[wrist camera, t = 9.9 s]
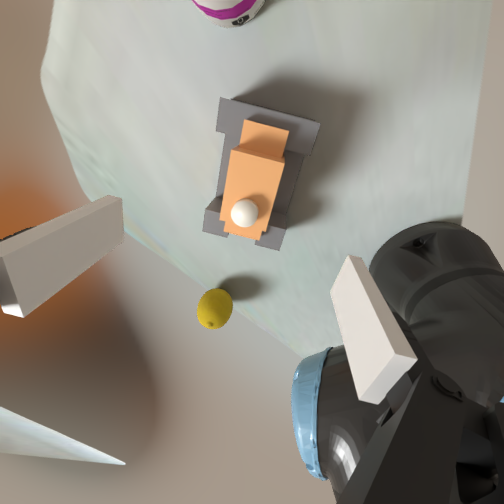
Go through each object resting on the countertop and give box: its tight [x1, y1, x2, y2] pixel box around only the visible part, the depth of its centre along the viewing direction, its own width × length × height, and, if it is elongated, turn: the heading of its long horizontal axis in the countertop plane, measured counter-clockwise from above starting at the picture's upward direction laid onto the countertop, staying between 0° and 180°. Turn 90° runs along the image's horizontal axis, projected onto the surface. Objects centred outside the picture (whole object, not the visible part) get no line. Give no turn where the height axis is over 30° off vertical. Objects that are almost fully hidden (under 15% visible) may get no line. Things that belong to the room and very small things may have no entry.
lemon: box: [197, 288, 233, 329], centre depth 39 cm, size 6×6×8 cm
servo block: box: [219, 119, 289, 240], centre depth 27 cm, size 5×12×10 cm, turn 167°
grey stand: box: [202, 97, 321, 251], centre depth 30 cm, size 10×15×6 cm, turn 167°
